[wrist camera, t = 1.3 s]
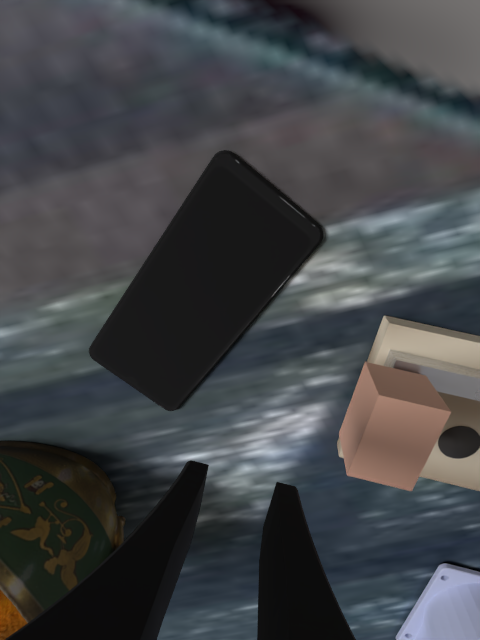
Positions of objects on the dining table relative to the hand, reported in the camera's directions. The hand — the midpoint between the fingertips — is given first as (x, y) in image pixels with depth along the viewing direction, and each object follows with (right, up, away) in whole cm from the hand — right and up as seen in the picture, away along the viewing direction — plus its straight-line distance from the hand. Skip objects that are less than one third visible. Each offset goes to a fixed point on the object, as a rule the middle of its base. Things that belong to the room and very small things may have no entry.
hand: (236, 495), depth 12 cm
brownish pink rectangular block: (+7, +2, +8) cm, 11 cm away
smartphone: (-2, +7, +10) cm, 12 cm away
